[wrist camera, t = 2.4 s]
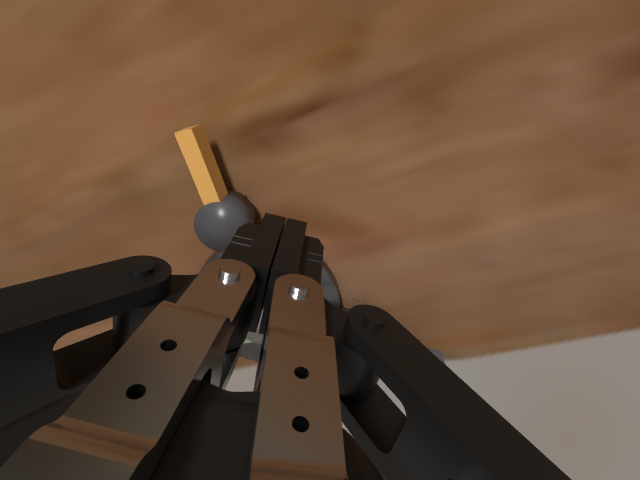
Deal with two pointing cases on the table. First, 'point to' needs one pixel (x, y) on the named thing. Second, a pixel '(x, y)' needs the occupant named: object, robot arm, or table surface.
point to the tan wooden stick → (212, 192)
